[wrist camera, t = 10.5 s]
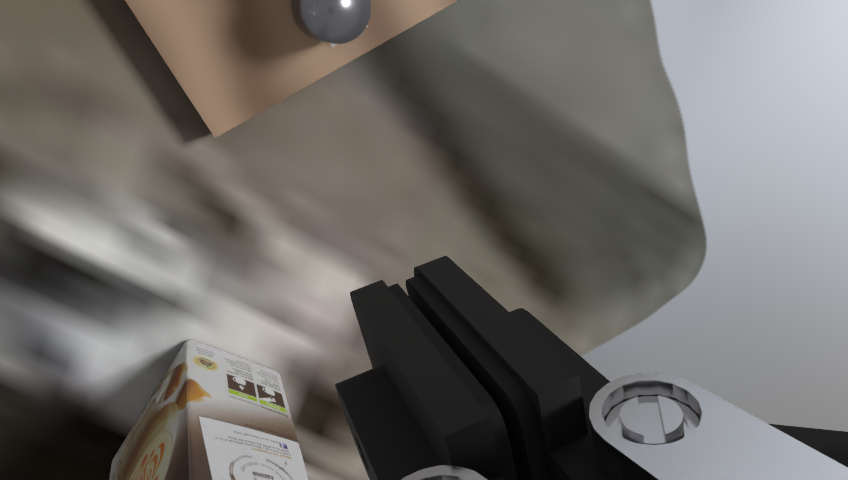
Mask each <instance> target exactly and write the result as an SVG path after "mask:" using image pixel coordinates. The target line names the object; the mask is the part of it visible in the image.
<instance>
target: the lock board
mask: <svg viewBox="0 0 848 480" xmlns="http://www.w3.org/2000/svg"><path fill="white" fill-rule="evenodd" d="M125 1H126V3H127V4H128V6H129V7H130V9H131V10H132V12H133V13H134V15H135V16H136V18H137V19H138V21H139V22H140V24H141V26H142V27H143V29H144V30H145V32H146V33H147V35H148V36H149V38H150V39H151V41H152V42H153V44H154V45H155V47H156V49H157V50H158V52H159V53H160V55H161V56H162V58H163V59H164V61H165V62H166V64H167V65H168V67H169V68H170V70H171V72H172V73H173V75H174V76H175V78H176V79H177V81H178V82H179V84H180V85H181V87H182V88H183V90H184V91H185V93H186V95H187V96H188V98H189V99H190V101H191V102H192V104H193V105H194V107H195V108H196V110H197V111H198V113H199V114H200V116H201V118H202V119H203V121H204V122H205V124H206V125H207V127H208V128H209V130H210V131H211V133H212V134H213V136H214V137H215V138H216V137H218V136H220V135H221V134H223V133H225V132H227V131H228V130H230V129H232V128H234V127H236V126H237V125H239V124H241V123H243V122H244V121H246V120H248V119H250V118H251V117H253V116H255V115H257V114H258V113H260V112H262V111H264V110H266V109H267V108H269V107H271V106H273V105H274V104H276V103H278V102H280V101H281V100H283V99H285V98H287V97H288V96H290V95H292V94H294V93H296V92H297V91H299V90H301V89H303V88H304V87H306V86H308V85H310V84H311V83H313V82H315V81H317V80H318V79H320V78H322V77H324V76H326V75H327V74H329V73H331V72H333V71H334V70H336V69H338V68H340V67H341V66H343V65H345V64H347V63H348V62H350V61H352V60H354V59H356V58H357V57H359V56H361V55H363V54H364V53H366V52H368V51H370V50H371V49H373V48H375V47H377V46H379V45H380V44H382V43H384V42H386V41H387V40H389V39H391V38H393V37H394V36H396V35H398V34H400V33H401V32H403V31H405V30H407V29H409V28H410V27H412V26H414V25H416V24H417V23H419V22H421V21H423V20H424V19H426V18H428V17H430V16H431V15H433V14H435V13H437V12H439V11H440V10H442V9H444V8H446V7H447V6H449V5H451V4H453V3H454V2H456V1H458V0H370V3H371V14H370V19H369V22H368V24H367V26H368V27H366V28H365V30H364V31H363V32H362V33H361V35H359V36H358V37H357V38H356V39H354V40H352V41H350V42H347V43H343V44H337V45H336V46H334V47H328V46H325V45H322V44H321V43H320V41H319V40H317V39H314V38H311V37H309V36H308V35H306V34H305V33H304V32H303V31H302V30H301V29H300V28H299V27H298V25H297V24H296V22H295V20H294V17H293V14H292V9H291V1H292V0H125Z"/></svg>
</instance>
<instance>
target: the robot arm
mask: <svg viewBox="0 0 848 480" xmlns="http://www.w3.org/2000/svg"><path fill="white" fill-rule="evenodd" d="M414 276H415V277H413V278H410V279H408V280H406V288H407V292H408V295H409V297H408V295H407V294H406V293H405V292H404V291H403V289H402V288H401V287H400V286H399V285H398V284H395V285H392V286H389V287H388V286H387V285H386V284H385V282H384V281H383V280H381V281H378V282H375V283H373V284H370V285H368V286H365V287H362V288H360V289H357V290H354V291H352V292H350V296H351V300H352V303H353V307H354V310H355V313H356V316H357V319H358V323H359V326H360V329H361V332H362V335H363V338H364V342H365V345H366V348H367V351H368V354H369V357H370V361H371V364H372V367H373V369H371V370H369V371H366V372H364V373H361V374H359V375H356V376H354V377H352V378H349V379H347V380H344V381H342V382H340V383H337V384H335V386H336V390H337V393H338V396H339V399H340V402H341V405H342V407H343V410H344V413H345V416H346V419H347V422H348V424H349V427H350V430H351V433H352V436H353V438H354V441H355V444H356V446H357V449H358V451H359V454H360V457H361V459H362V462H363V464H364V467H365V469H366V472H367V474H368V476H369V479H370V480H848V432H843V431H832V430H823V429H813V428H803V427H794V426H784V425H774V424H767V423H765V422H763V421H762V420H760V419H758V418H756V417H754V416H752V415H750V414H749V413H747V412H745V411H743V410H741V409H739V408H738V407H736V406H734V405H732V404H730V403H729V402H727V401H725V400H723V399H721V398H720V397H717V396H716V395H714V394H712V393H710V392H709V391H707V390H705V389H703V388H701V387H699V386H697V385H696V384H694V383H692V382H689V381H687V380H684V379H682V378H679V377H677V376H672V375H667V374H660V373H638V374H633V375H629V376H624V377H621V378H619V379H616V380H614V381H612V382H610V381H609V380H607V379H606V378H605V377H604V376H603V375H602V374H600V373H599V372H598V371H597V370H595V368H593V367H592V366H591V365H590V364H589V363H587V362H586V361H585V360H584V359H583V358H582V357H581V356H579V355H578V354H577V353H576V352H575V351H574V350H572V349H571V348H570V347H569V346H568V345H567V344H565V343H564V342H563V341H562V340H561V339H559V338H558V337H557V336H556V335H555V334H554V333H552V332H551V331H550V330H549V329H548V328H547V327H545V326H544V325H543V324H542V323H541V322H540V321H538V320H537V319H536V318H535V317H534V316H533V315H531V314H530V313H529V312H528V311H526V310H524V309H523V308H520V309H516V310H514V311H511V312H508V311H507V310H506V309H505V308H504V307H503V306H502V305H500V304H499V303H498V302H497V301H496V300H495V299H494V298H493V297H492V296H491V295H489V294H488V293H487V292H486V291H485V290H484V289H483V288H482V287H481V286H479V285H478V284H477V283H476V282H475V281H474V280H473V279H472V278H471V277H469V276H468V275H467V274H466V273H465V272H464V271H463V270H462V269H461V268H460V267H458V266H457V265H456V264H455V263H454V262H453V261H452V260H451V259H450V258H448V257H447V256H444V257H441V258H439V259H436V260H433V261H431V262H428V263H425V264H423V265H420V266H417V267H415V268H414Z"/></svg>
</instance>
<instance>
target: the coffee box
mask: <svg viewBox="0 0 848 480" xmlns="http://www.w3.org/2000/svg"><path fill="white" fill-rule="evenodd" d="M109 480H309V479H308V476H307V472H306V468H305V465H304V461H303V457H302V453H301V450H300V446H299V444H298V440H297V436H296V432H295V428H294V425H293V422H292V419H291V414H290V410H289V407H288V403H287V400H286V396H285V393H284V389H283V385H282V382H281V377H280V374H279V373H278V372H277V371H275V370H272V369H269V368H267V367H264V366H262V365H259V364H256V363H254V362H251V361H248V360H246V359H243V358H240V357H238V356H235V355H233V354H230V353H227V352H225V351H222V350H219V349H216V348H214V347H211V346H208V345H205V344H203V343H200V342H197V341H194V340H188V341H186V342H185V343H184V345H183V346H182V348H181V349H180V351H179V353H178V354H177V356H176V358H175V359H174V361H173V362H172V364H171V366H170V367H169V369H168V371H167V372H166V374H165V375H164V377H163V379H162V380H161V382H160V384H159V385H158V387H157V389H156V390H155V392H154V393H153V395H152V397H151V398H150V400H149V402H148V403H147V405H146V407H145V408H144V410H143V411H142V413H141V415H140V416H139V418H138V419H137V421H136V423H135V424H134V426H133V427H132V429H131V431H130V432H129V434H128V435H127V437H126V439H125V440H124V442H123V444H122V445H121V447H120V448H119V450H118V452H117V453H116V455H115V457H114V458H113V460H112V464H111V472H110V479H109Z"/></svg>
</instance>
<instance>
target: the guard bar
mask: <svg viewBox="0 0 848 480" xmlns="http://www.w3.org/2000/svg"><path fill="white" fill-rule="evenodd" d="M291 9H292V14H293V17H294V20H295V22H296V24H297V25H298V27H299V28H300V29H301V30H302V31H303V32H304V33H305V34H306V35H308V36H309V37H311V38H314V39H317V40H319V41H320V43H321V44H322V45H325V46H328V47H334V46H336V45H337V44H343V43H347V42H350V41H352V40H354V39H356V38H357V37H358V36H359V35H361V33H362V32H363V31H364V30H365V28H366V27H368V26H367V24H368V22H369V19H370V14H371V3H370V0H292V1H291Z"/></svg>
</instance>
